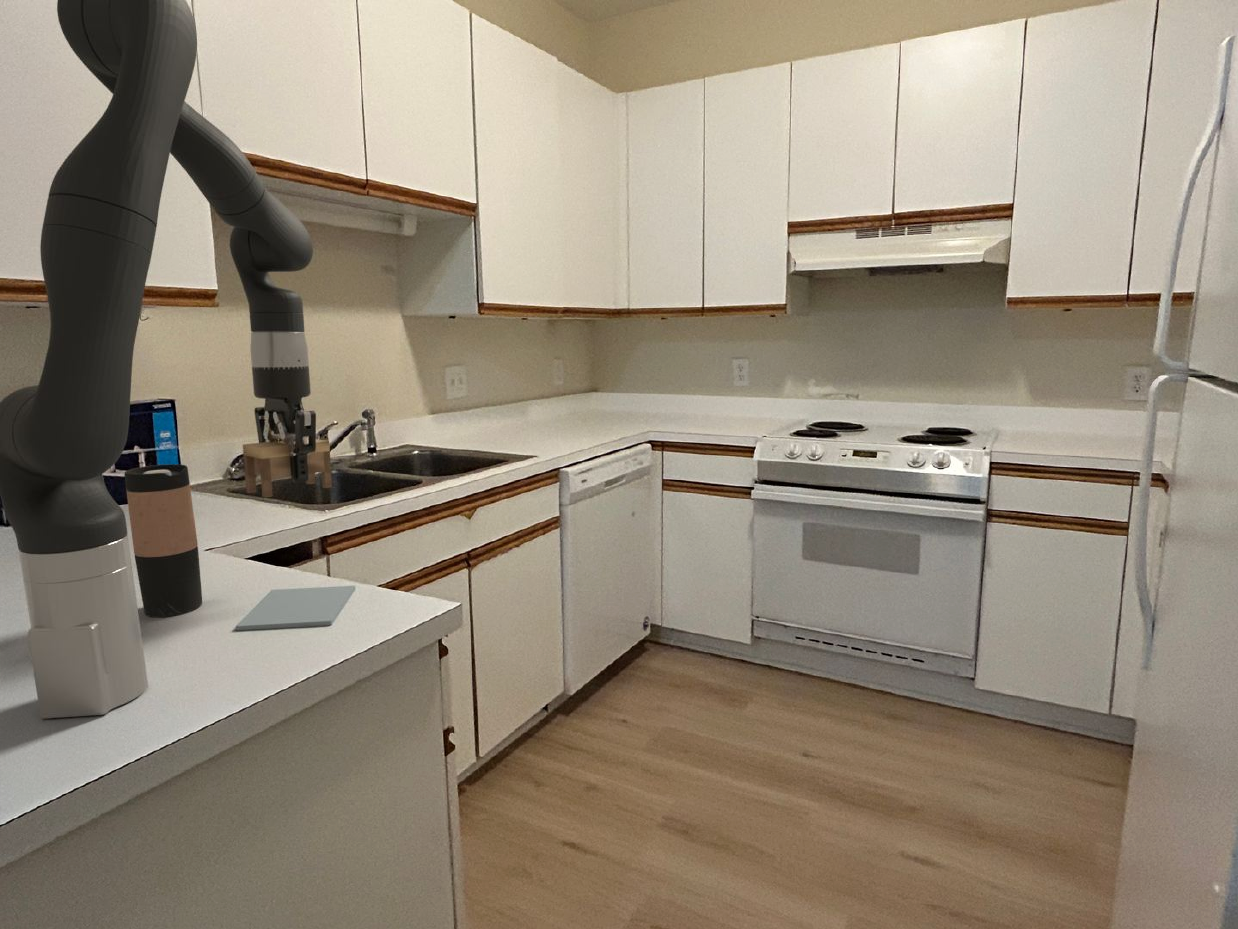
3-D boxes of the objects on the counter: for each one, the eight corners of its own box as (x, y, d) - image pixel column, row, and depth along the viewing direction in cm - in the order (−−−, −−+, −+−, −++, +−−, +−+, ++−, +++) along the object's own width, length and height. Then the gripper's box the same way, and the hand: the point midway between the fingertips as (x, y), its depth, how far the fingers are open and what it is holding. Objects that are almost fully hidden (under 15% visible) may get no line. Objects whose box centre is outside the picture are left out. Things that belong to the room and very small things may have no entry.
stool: (312, 482, 118) (309, 437, 117) (332, 487, 114) (329, 440, 113) (246, 492, 110) (242, 444, 109) (265, 497, 106) (261, 448, 105)
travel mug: (148, 603, 110) (130, 466, 106) (208, 595, 112) (192, 462, 109) (136, 621, 103) (116, 476, 99) (200, 613, 105) (183, 471, 102)
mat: (331, 625, 100) (331, 620, 100) (236, 630, 99) (235, 626, 99) (355, 589, 114) (355, 585, 114) (272, 593, 113) (271, 589, 113)
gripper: (331, 364, 107) (338, 481, 110) (281, 362, 117) (289, 470, 119) (278, 365, 102) (288, 489, 104) (231, 364, 111) (241, 477, 114)
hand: (289, 478), depth 112 cm, fingers closed on stool, 6 cm apart
